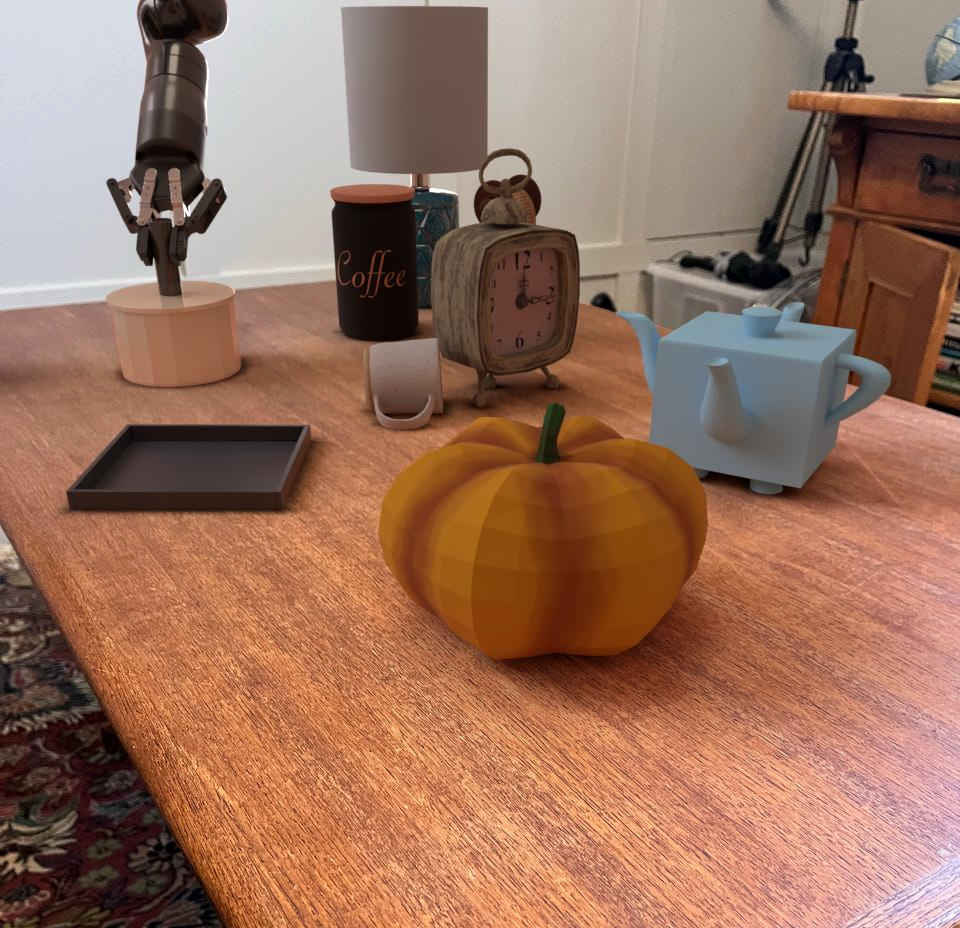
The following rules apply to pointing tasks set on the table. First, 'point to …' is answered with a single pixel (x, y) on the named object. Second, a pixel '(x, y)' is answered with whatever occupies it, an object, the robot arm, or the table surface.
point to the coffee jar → (375, 261)
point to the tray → (194, 468)
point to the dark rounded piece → (527, 196)
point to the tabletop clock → (505, 290)
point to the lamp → (418, 105)
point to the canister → (178, 346)
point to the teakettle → (753, 392)
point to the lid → (168, 284)
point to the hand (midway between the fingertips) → (161, 261)
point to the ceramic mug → (403, 381)
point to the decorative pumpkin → (545, 535)
